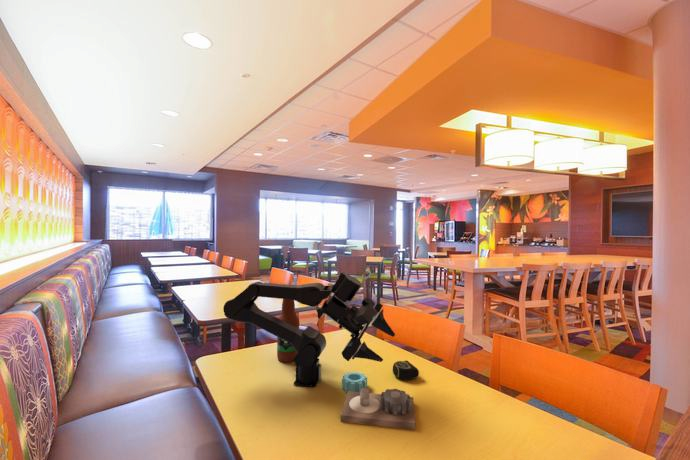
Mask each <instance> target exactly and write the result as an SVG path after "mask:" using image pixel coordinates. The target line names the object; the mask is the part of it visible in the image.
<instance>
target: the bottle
mask: <svg viewBox="0 0 690 460" xmlns="http://www.w3.org/2000/svg"><path fill="white" fill-rule="evenodd" d="M295 305H296V304H295V300H290V299H282V302H281V314H280V316H279V318H278V319H280V320H282V321H284V322H286V323H288V324H290V325H292V326H294V327H296V328H298V329H300V319H299V317H298V316H297V314H296V306H295ZM276 339H277V341H276V344H277V345H276V354H277V355H276V356H277V357H276V358H277V360H278V361H279V362H281V363H292V362H294V360H293V358H294V357H295V356H296V355H297V353H298V352H297V351H296V349H295V348H294V347H293V345H292V344H291V343H289V342H287V341H285V340H283V339H281V338H279V337H277V336H276Z"/></svg>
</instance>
